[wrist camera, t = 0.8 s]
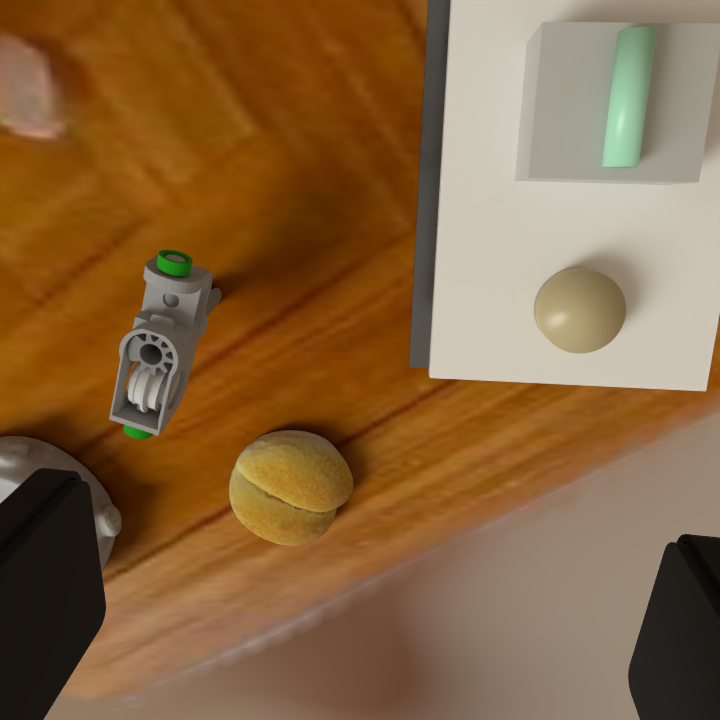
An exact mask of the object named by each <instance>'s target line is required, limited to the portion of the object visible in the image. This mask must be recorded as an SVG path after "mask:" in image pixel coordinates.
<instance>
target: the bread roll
mask: <svg viewBox="0 0 720 720" xmlns="http://www.w3.org/2000/svg"><path fill="white" fill-rule="evenodd" d="M352 491H353V478H352V474H351V471H350V469H349V467H348V465H347V463H346V462H345V460H344V458H343V457H342V456H341V454H340V453H339V452H338V450H337V449H336V448H335V447H334V446H333V445H332V444H331V443H330V442H329V441H328V440H327V439H325V438H323V437H321V436H319V435H317V434H313V433H310V432H306V431H299V430H283V431H277V432H272V433H268V434H265V435H263V436H261V437H259V438H258V439H256V440H255V441H254V442H253V443H251V444H250V445H248V446H247V448H245V450H244V451H243V452H242V453H241V454H240V456H239V457H238V459H237V462H236V465H235V467H234V470H233V472H232V476H231V479H230V490H229V494H230V502H231V505H232V508H233V510H234V512H235V515H236V517H237V518H238V519H239V520H240V521H241V522H242V523H243V524H244V525H245V526H246V527H247V528H248V529H249V530H251V531H252V532H253V533H255V534H257V535H258V536H260V537H262V538H263V539H266V540H269V541H271V542H274V543H277V544H282V545H292V546H293V545H301V544H306V543H309V542H312V541H314V540H316V539H318V538H319V537H321V536H322V535H323V534H324V533H325V532H326V531H327V530H328V529H329V527H330V526H331V524H332V522H333V520H334V517H335V514H336V510H337V507H339V506H340V505H342V504H343V503H345V502H346V501H347V500H348V498H349V496H350V495H351V493H352Z"/></svg>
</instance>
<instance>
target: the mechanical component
mask: <svg viewBox="0 0 720 720" xmlns="http://www.w3.org/2000/svg"><path fill="white" fill-rule="evenodd" d="M143 277H144V279H145V281H147V285H146V290H145V295H144V300H143V306H142V311H141V312H140V313H139V314H138V315H137V316H135V320H134V325H133V330H131V331H130V332H129V333H128V334H127V335H126V336H125V337H124V338H123V339H122V341H121V344H120V348H119V355H120V364H119V370H118V375H117V380H116V386H115V391H114V396H113V402H112V407H111V413H110V418H109V420H112V421H115V422H118V423H121V424H124V432H125V433H126V434H127V435H128V436H130V437H132V438H136V439H146V438H149V437H151V436H152V435H153V434H155V435H158V436H159V434H160V433H161V431H162V430H163V429H164V427H165V426H166V425H167V423H168V422H169V420H170V418H171V416H172V415H173V414H174V412H175V411H176V409H177V408H178V406H179V404H180V402H181V400H182V398H183V395H184V393H185V390H186V387H187V383H188V379H189V375H190V371H191V367H192V363H193V359H194V354H195V350H196V346H197V343H198V338H200V337H201V336H202V335H203V334H204V333H205V331H206V328H207V315H208V314H209V313H210V312H211V311H212V310H213V309H214V308H215V306H216V305H217V304H218V303H219V302H220V301H221V298H222V293H221V290H220V289H219V288H216V287H215V288H214V289H211V285H212V278H213V274H212V272H211V271H208V270H206V269H203V268H200V267H197V266H194V265H192V258H191V257H189V256H188V255H186V254H184V253H181V252H178V251H173V250H162V251H160V252H159V254H158V255H157V256H155V257H154V258H152V259H151V260H149V261H148V262H147V263H146V266H145V271H144V276H143ZM134 361H138V362H137V364H136V365H135V367H134V369H133V371H132V373H131V376H130V379H129V382H128V387H127V390H126V391H125V392H124V387H125V382H126V379H127V376H128V373H129V371H130V368H131V366H132V365H133V363H134Z"/></svg>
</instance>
